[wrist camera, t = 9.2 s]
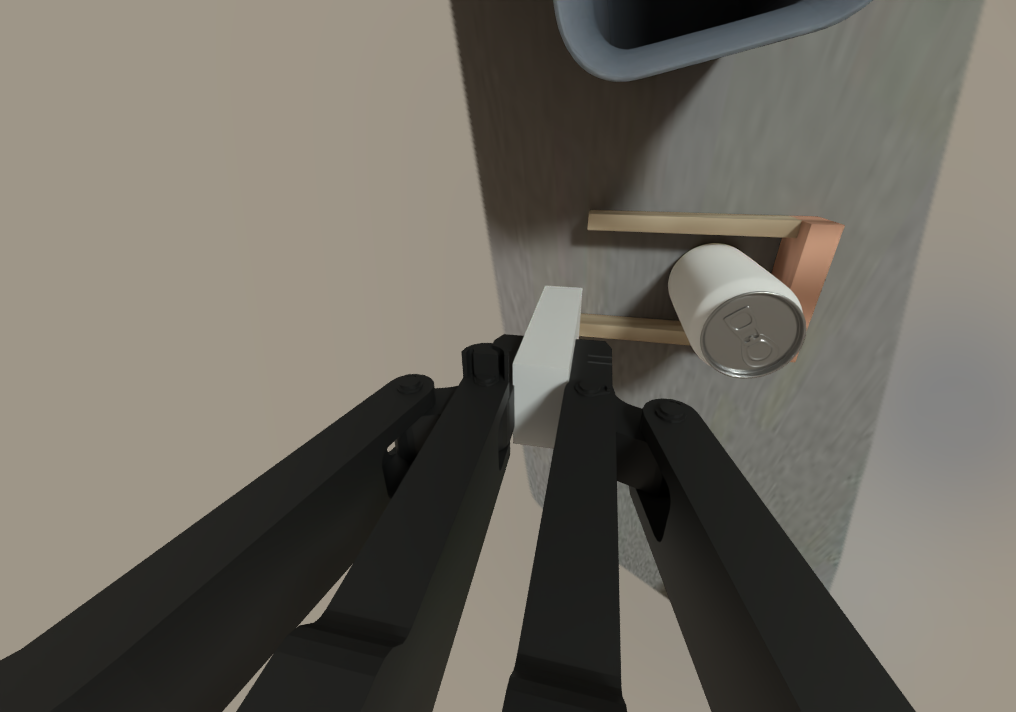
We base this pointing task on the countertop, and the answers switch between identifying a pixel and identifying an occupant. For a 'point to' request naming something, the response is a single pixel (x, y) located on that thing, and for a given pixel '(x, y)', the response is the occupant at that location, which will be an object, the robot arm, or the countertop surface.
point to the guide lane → (797, 257)
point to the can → (735, 311)
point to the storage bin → (683, 30)
